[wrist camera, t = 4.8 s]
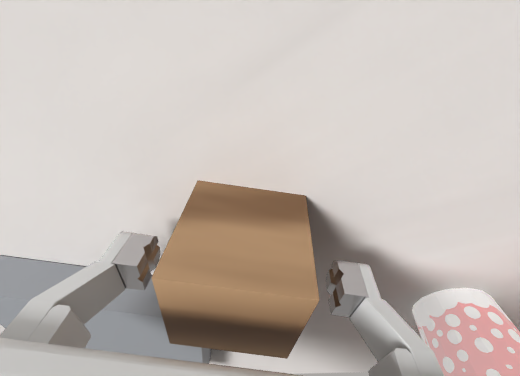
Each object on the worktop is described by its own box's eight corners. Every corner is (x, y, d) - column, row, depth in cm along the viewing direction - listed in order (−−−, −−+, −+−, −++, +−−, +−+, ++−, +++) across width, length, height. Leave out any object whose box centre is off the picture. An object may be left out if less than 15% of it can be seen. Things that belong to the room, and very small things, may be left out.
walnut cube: (198, 179, 11) (151, 278, 7) (305, 194, 11) (319, 299, 7) (201, 247, 14) (169, 343, 10) (285, 259, 14) (287, 358, 10)
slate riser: (-1, 255, 16) (-42, 291, 14) (209, 283, 16) (199, 322, 14) (74, 338, 24) (55, 368, 22) (210, 356, 25) (204, 386, 23)
